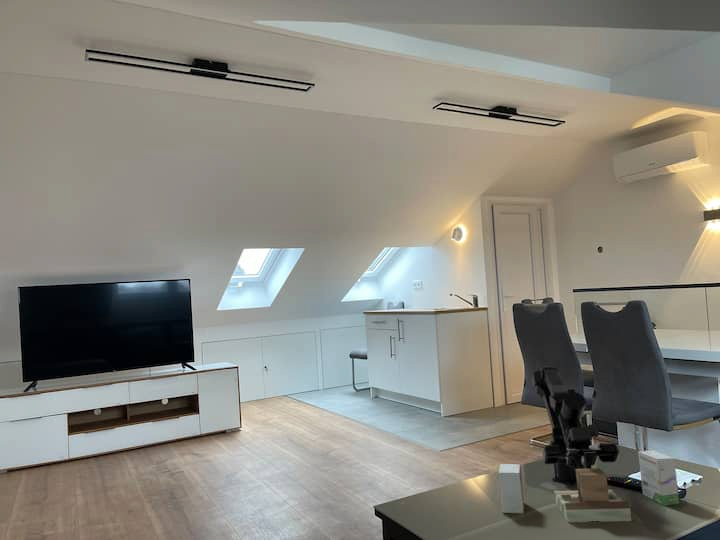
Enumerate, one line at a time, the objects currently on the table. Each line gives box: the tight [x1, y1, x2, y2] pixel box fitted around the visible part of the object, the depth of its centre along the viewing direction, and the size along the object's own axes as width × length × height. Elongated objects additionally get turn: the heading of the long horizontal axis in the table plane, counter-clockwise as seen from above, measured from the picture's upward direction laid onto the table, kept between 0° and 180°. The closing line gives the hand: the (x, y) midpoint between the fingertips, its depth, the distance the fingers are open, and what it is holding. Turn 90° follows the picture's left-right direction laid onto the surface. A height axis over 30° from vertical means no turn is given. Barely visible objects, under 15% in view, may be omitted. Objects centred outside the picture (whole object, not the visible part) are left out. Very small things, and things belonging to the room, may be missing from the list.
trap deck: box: [553, 489, 632, 523], centre depth 135 cm, size 13×15×4 cm
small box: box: [497, 463, 525, 514], centre depth 141 cm, size 8×6×10 cm
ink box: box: [638, 450, 680, 507], centre depth 139 cm, size 8×5×12 cm, turn 6°
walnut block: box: [576, 467, 609, 503], centre depth 132 cm, size 5×6×8 cm
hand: (588, 483), depth 135 cm, fingers closed, pressing on walnut block
